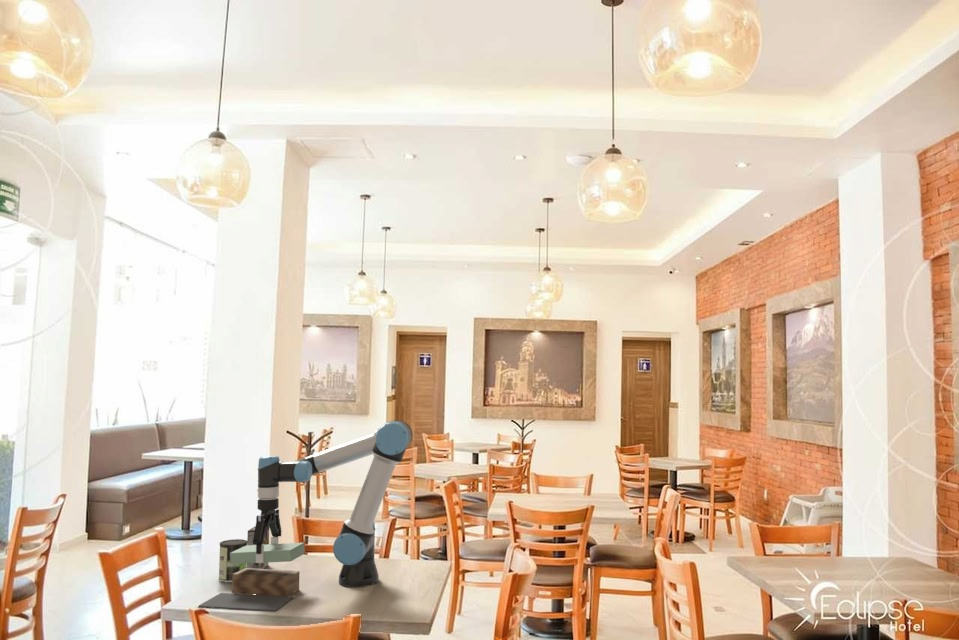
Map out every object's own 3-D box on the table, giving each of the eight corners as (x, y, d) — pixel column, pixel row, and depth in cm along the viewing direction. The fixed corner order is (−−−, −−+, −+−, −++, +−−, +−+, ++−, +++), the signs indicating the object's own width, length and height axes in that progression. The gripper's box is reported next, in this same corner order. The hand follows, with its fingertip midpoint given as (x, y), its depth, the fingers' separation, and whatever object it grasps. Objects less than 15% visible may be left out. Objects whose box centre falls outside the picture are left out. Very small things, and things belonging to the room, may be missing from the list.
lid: (304, 553, 259) (304, 542, 259) (291, 561, 248) (290, 550, 249) (246, 556, 264) (246, 545, 264) (230, 564, 253) (229, 553, 254)
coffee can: (251, 576, 275) (252, 539, 276) (237, 583, 265) (238, 545, 266) (227, 574, 277) (229, 538, 278) (212, 581, 267) (214, 544, 268)
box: (299, 590, 257) (299, 571, 257) (287, 597, 248) (287, 577, 249) (245, 586, 261) (245, 567, 262) (231, 593, 253) (232, 574, 253)
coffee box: (253, 564, 292) (254, 525, 293) (268, 565, 292) (269, 526, 293) (246, 570, 283) (247, 530, 284) (261, 570, 283) (262, 530, 284)
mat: (294, 598, 247) (294, 596, 247) (275, 611, 232) (275, 610, 232) (220, 594, 251) (220, 592, 251) (197, 607, 236) (198, 605, 236)
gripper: (272, 493, 270) (271, 550, 268) (243, 503, 247) (242, 566, 245) (291, 493, 269) (290, 551, 267) (263, 503, 246) (262, 567, 244)
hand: (267, 558), depth 256 cm, fingers closed on lid, 11 cm apart
